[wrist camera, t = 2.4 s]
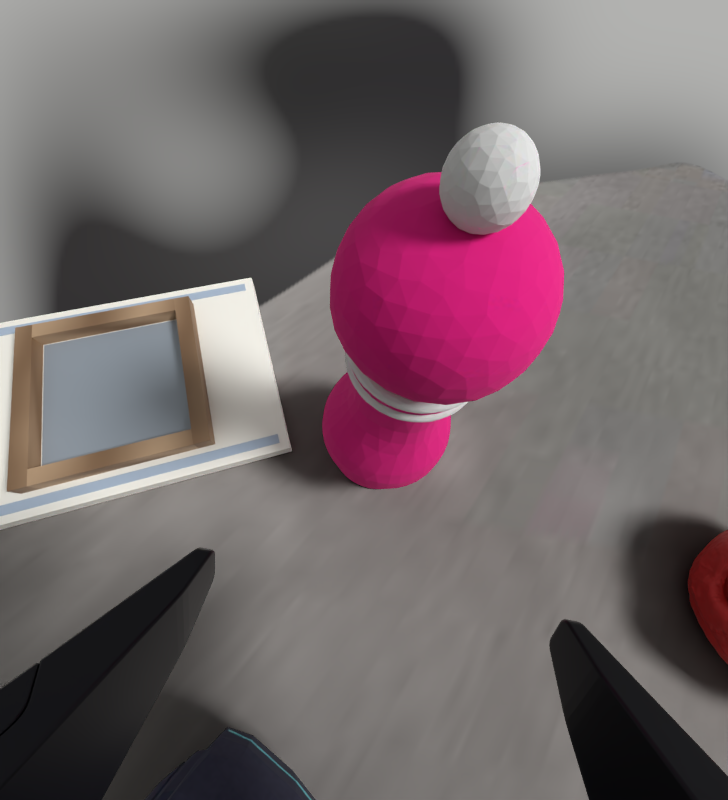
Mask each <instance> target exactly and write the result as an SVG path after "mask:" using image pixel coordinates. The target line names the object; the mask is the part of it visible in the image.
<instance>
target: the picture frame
mask: <svg viewBox="0 0 728 800" xmlns="http://www.w3.org/2000/svg"><path fill="white" fill-rule="evenodd" d="M185 296H189V298H190V299H191V301H192V303H193V304H194V310H195V317H196V323H197V330H198V336H199V342H200V349H201V355H202V362H203V368H204V374H205V381H206V387H207V394H208V400H209V407H210V413H211V419H212V426H213V432H214V439H215V444H214V445H210V446H206V447H202V448H198V449H194V450H191V451H187V452H183V453H179V454H175V455H171V456H167V457H163V458H159V459H155V460H152V461H148V462H144V463H140V464H136V465H132V466H128V467H124V468H120V469H116V470H112V471H109V472H105V473H101V474H97V475H93V476H89V477H85V478H81V479H77V480H73V481H70V482H66V483H62V484H58V485H54V486H50V487H46V488H42V489H38V490H34V491H30V492H27V493H23V494H19V493H13V492H7V475H8V455H9V436H10V417H11V398H12V379H13V359H14V340H15V328H16V327H22V326H27V325H33V324H38V323H44V322H49V321H55V320H60V319H65V318H71V317H76V316H82V315H87V314H93V313H98V312H104V311H109V310H114V309H120V308H125V307H131V306H136V305H142V304H147V303H153V302H158V301H164V300H169V299H174V298H180V297H185ZM189 429H191V424H190V417H189V409H188V402H187V394H186V387H185V379H184V372H183V364H182V357H181V349H180V342H179V335H178V327H177V320H176V319H175V320H170V321H165V322H160V323H155V324H150V325H144V326H139V327H134V328H129V329H124V330H119V331H113V332H108V333H103V334H98V335H93V336H88V337H82V338H77V339H72V340H67V341H62V342H56V343H51V344H46V345H43V388H42V439H41V466H43V465H47V464H51V463H55V462H59V461H63V460H67V459H71V458H75V457H79V456H84V455H88V454H92V453H96V452H100V451H104V450H108V449H112V448H116V447H120V446H124V445H128V444H132V443H136V442H140V441H145V440H149V439H153V438H157V437H161V436H165V435H169V434H173V433H177V432H181V431H185V430H189ZM288 452H292V448H291V443H290V439H289V435H288V430H287V426H286V422H285V417H284V413H283V409H282V404H281V400H280V396H279V392H278V387H277V383H276V379H275V374H274V370H273V366H272V361H271V357H270V353H269V348H268V344H267V340H266V336H265V331H264V327H263V323H262V318H261V314H260V310H259V305H258V301H257V297H256V292H255V288H254V284H253V282H252V278H247V279H242V280H236V281H230V282H225V283H219V284H214V285H208V286H203V287H197V288H192V289H186V290H181V291H175V292H170V293H164V294H158V295H153V296H147V297H142V298H137V299H130V300H125V301H120V302H114V303H109V304H103V305H97V306H92V307H86V308H81V309H75V310H69V311H64V312H58V313H53V314H48V315H42V316H36V317H31V318H25V319H20V320H14V321H8V322H3V323H0V530H2V529H6V528H9V527H13V526H17V525H20V524H24V523H28V522H32V521H35V520H39V519H43V518H46V517H50V516H54V515H58V514H61V513H65V512H69V511H72V510H76V509H80V508H84V507H87V506H91V505H95V504H98V503H102V502H106V501H110V500H113V499H117V498H121V497H124V496H128V495H132V494H136V493H139V492H143V491H147V490H150V489H154V488H158V487H162V486H165V485H169V484H173V483H176V482H180V481H184V480H188V479H191V478H195V477H199V476H202V475H206V474H210V473H214V472H217V471H221V470H225V469H228V468H232V467H236V466H240V465H243V464H247V463H251V462H254V461H258V460H262V459H266V458H269V457H273V456H277V455H280V454H284V453H288Z"/></svg>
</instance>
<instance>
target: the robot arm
mask: <svg viewBox="0 0 728 800" xmlns="http://www.w3.org/2000/svg"><path fill="white" fill-rule="evenodd" d="M214 574H215V552H214V551H213V550H211V549H206V548H197V549H195V550H194V551H192V552H191V553H189V554H188V555H187V556H185V557H184V558H183V559H181V560H180V561H178V562H177V563H176V564H174V565H173V566H171V567H170V568H169V569H167V570H166V571H164V572H163V573H162V574H160V575H159V576H157V577H156V578H155V579H153V580H152V581H150V582H149V583H148V584H146V585H145V586H143V587H142V588H141V589H139V590H138V591H136V592H135V593H134V594H132V595H131V596H129V597H128V598H127V599H125V600H124V601H123V602H121V603H120V604H118V605H117V606H116V607H114V608H113V609H111V610H110V611H109V612H107V613H106V614H104V615H103V616H102V617H100V618H99V619H97V620H96V621H95V622H93V623H92V624H90V625H89V626H88V627H86V628H85V629H83V630H82V631H81V632H79V633H78V634H76V635H75V636H74V637H72V638H71V639H69V640H68V641H67V642H65V643H64V644H62V645H61V646H60V647H58V648H57V649H56V650H54V651H53V652H51V653H50V654H49V655H47V656H46V657H44V658H43V659H42V660H41V661H40V664H39V663H36V664H34V665H33V666H32V667H30V668H29V669H27V670H26V671H25V672H23V673H22V674H20V675H19V676H18V677H16V678H15V679H13V680H12V681H10V682H9V683H8V684H6V685H5V686H3V687H2V688H0V800H102V798H103V796H104V794H105V792H106V791H107V789H108V787H109V785H110V783H111V781H112V780H113V778H114V776H115V774H116V772H117V770H118V768H119V767H120V765H121V763H122V761H123V759H124V757H125V756H126V754H127V752H128V750H129V748H130V746H131V745H132V743H133V741H134V739H135V737H136V735H137V734H138V732H139V730H140V728H141V726H142V724H143V723H144V721H145V719H146V717H147V715H148V713H149V712H150V710H151V708H152V706H153V704H154V702H155V701H156V699H157V697H158V695H159V693H160V691H161V690H162V688H163V686H164V684H165V682H166V680H167V679H168V677H169V675H170V673H171V671H172V669H173V668H174V666H175V664H176V662H177V660H178V658H179V656H180V655H181V653H182V651H183V649H184V647H185V645H186V642H187V640H188V638H189V636H190V633H191V631H192V629H193V626H194V624H195V622H196V619H197V617H198V615H199V612H200V610H201V608H202V605H203V603H204V601H205V598H206V596H207V594H208V591H209V589H210V586H211V584H212V582H213V578H214ZM550 652H551V657H552V662H553V666H554V671H555V676H556V680H557V685H558V690H559V694H560V699H561V704H562V708H563V713H564V717H565V721H566V725H567V728H568V732H569V735H570V738H571V742H572V745H573V748H574V752H575V755H576V758H577V761H578V765H579V768H580V771H581V775H582V778H583V781H584V784H585V788H586V791H587V794H588V798H589V800H728V776H727V775H726V774H725V773H724V772H723V771H722V770H721V769H720V767H719V766H718V765H717V764H716V763H715V762H714V761H713V760H712V759H711V758H710V757H709V756H708V755H707V754H706V753H705V752H704V751H703V750H702V749H701V748H700V747H699V745H698V744H697V743H696V742H695V741H694V740H693V739H692V738H691V737H690V736H689V735H688V734H687V733H686V732H685V731H684V730H683V729H682V728H681V727H680V726H679V725H678V724H677V722H676V721H675V720H674V719H673V718H672V717H671V716H670V715H669V714H668V713H667V712H666V711H665V710H664V709H663V708H662V707H661V706H660V705H659V704H658V703H657V702H656V701H655V699H654V698H653V697H652V696H651V695H650V694H649V693H648V692H647V691H646V690H645V689H644V688H643V687H642V686H641V685H640V684H639V683H638V682H637V681H636V680H635V679H634V677H633V676H632V675H631V674H630V673H629V672H628V671H627V670H626V669H625V668H624V667H623V666H622V665H621V664H620V663H619V662H618V661H617V660H616V659H615V658H614V657H613V656H612V654H611V653H610V652H609V651H608V650H607V649H606V648H605V647H604V646H603V645H602V644H601V643H600V642H599V641H598V640H597V639H596V638H595V637H594V636H593V635H592V634H591V633H590V631H589V630H588V629H587V628H586V627H585V626H584V625H583V624H581V623H579V622H577V621H572V620H567V619H564V620H562V621H561V622H560V624H559V625H558V627H557V629H556V630H555V632H554V634H553V635H552V637H551V639H550Z"/></svg>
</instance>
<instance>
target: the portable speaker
mask: <svg viewBox="0 0 728 800" xmlns="http://www.w3.org/2000/svg"><path fill="white" fill-rule="evenodd" d="M145 800H315V799H314V797H313V796H312V795H311V794H310V792H309V791H308V790H307V788H306V787H305V786H304V785H303V783H302V782H301V781H300V779H299V778H298V777H297V776H296V774H295V773H294V772H293V771H292V770H291V769H290V768H289V767H288V766H287V765H286V764H285V763H283V762H282V761H281V760H280V759H279V758H278V757H277V756H276V755H274V754H273V753H272V752H271V751H270V750H269V749H268V748H267V747H265V746H264V745H263V744H262V743H261V742H260V741H259V740H257V739H256V738H255V737H254V736H253V735H250V734H247V733H244V732H241V731H238V730H235V729H232V728H229V727H227V728H226V729H225V730H224V731H223V732H222V733H221V734H220V736H219V737H218V738H217V739H216V740H215V741H214V742H213V743H212V744H211V745H210V746H209V747H208V748H207V749H206V750H201V751H197V752H196V753H194V754H193V755H192V756H191V757H190V758H189V759H188V760H187V761H186V762H183V763H182V764H181V765H180V766H179V767H177V768H176V769H175V770H174V771H173V772H171V773H170V774H169V775H168V776H167V777H166V778H164V779H163V780H162V781H161V782H160V783H159V784H158V785H157V786H156V787H155V788H154V790H153V791H152V792H151V793H150V794H149V795H148V796H147V798H146V799H145Z"/></svg>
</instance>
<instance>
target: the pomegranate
mask: <svg viewBox="0 0 728 800" xmlns="http://www.w3.org/2000/svg"><path fill="white" fill-rule="evenodd" d="M688 592H689V595H690V598H689V600H690V603H691V607H692V609H693V611H694V613H695V615H696V617H697V620H698V623H699V624H700V626H701V628H702V629H703V631H704V633H705V635H706V637H707V639H708V640H709V642H710V643H711V644H712V646H713V647H714V648H715V650H716V651H717V653H718V654H719V656H720V657H721V658H722V659H723V660H724V661H725V662H726V663H727V664H728V530H726V531H724V532H722V533H720V534H719V535H718V536H716V537H715V538H714V539H713V540H711V541H710V542H709V543H708V545H707V546H706V547H705V548H704V549H703V550H702V551H701V552H700V553H699V554H698V556H697V557H696V558H695V560H694V562H693V564H692V567H691V569H690V571H689V578H688Z"/></svg>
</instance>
